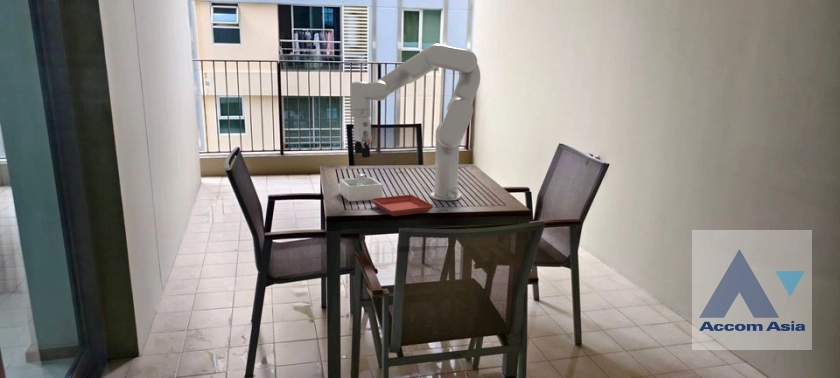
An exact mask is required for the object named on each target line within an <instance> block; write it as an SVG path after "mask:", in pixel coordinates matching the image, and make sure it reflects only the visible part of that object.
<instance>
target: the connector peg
mask: <svg viewBox="0 0 840 378" xmlns="http://www.w3.org/2000/svg"><path fill="white" fill-rule="evenodd" d="M355 176H356V177H355V178H356V186H360V185H365V178H366V174H365V173H356V175H355Z"/></svg>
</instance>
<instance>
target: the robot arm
mask: <svg viewBox="0 0 840 378" xmlns="http://www.w3.org/2000/svg"><path fill="white" fill-rule="evenodd" d="M436 68H439V69H440V68H441V69H444V70H450V71H455V72H458V80H457V83H456V86H455V89H454V91H453V93H452V95H451V97H450V99H449V101H448V104H447V108H446V111H447V112H446V114H445V117H444V119H443V121H442V122H440V123H439V124H438V125H437V127H436V130H435V161H434V162H435V163H434V189H433V190H434V191H433V192H431V193H430V195H429V196H430V198H432V199H433V200H437V201H446V202H448V201H457V200H460V199H461V198H462V195H461V193H459V192H458V184H459V183H458V182H459V159H460V156H459V155H460V143H461V142H462V140H463V138H464V135H466V131H467V129H468V128H469V125H470V123H471V121H472V117H473V114H474V107H473V102H474V100H475V97H476V94H477V92H478V90H479V87H480V83H481V71H480V67H479V64H478V57H477V55H476V53H474V52H473V51H471V50H468V49H465V48H464V49H463V48H458V47H454V46H448V45H445V44H439V43H433V44H430V45H429V46H428V47H426V48H424V49H423V50H421V51H420V52H418V53H417V54H415V55H413V56H412V57H410V58H409V59H407V60H405V61H404V62H402V63H401V64H399V66H397V67H396V68H394V69H393V70H392V71H390V72H388V73H387V74H385V75H384V76H382V77H381V78H379V79H377V80H375V81H373V82H368V81H353V82H352V83H351V84H350V99H351V101H350V102H351V103H350V104H351V117H352V118H353V138H354V153H355V155H357V154H361V158H363V159H364V158H370V157H371V149H370V148H371V146H370V145H371V144H370V143H371V142H372V140H373V138H372V137H373V136H372V126H371V115H372V114H371V113H372V112H371V110H372V109H371V101H378V102H379V101H384V100H386V99H387V98H388V96H390V95H391V94H393V93H395V92H396V91H397V90H399V89H401V88H402V87H404V86H406V85H409V84H412V83H415V82H416V81H418V80H419V79H421V78H422V77H424V76H426V75H427V74H429V73H431V72H432V71H434V70H435V69H436Z"/></svg>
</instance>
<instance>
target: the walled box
mask: <svg viewBox="0 0 840 378" xmlns="http://www.w3.org/2000/svg"><path fill="white" fill-rule="evenodd" d="M339 194H340V195H341V196H342V197H343V198H344V199H345V200H347V202H359V201H372V200H371V199H373V198H382V197H383V183H381V182H379V181H378V180H377V179H375V178H374V177H372V176H371V177H365V185H360V186H356V177H355V178H342V179H341V178H340V179H339Z"/></svg>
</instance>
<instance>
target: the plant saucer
mask: <svg viewBox="0 0 840 378" xmlns="http://www.w3.org/2000/svg"><path fill="white" fill-rule="evenodd" d="M370 201H372V203H373V204H374V205H375V206H376V207H377V208H378V209H380V210H381V211H384V212H385V213H386V214H388V215H390V216H392V217H398V216H407V215H414V214H422V213H428V212H429V211H430V210H431V209H432V208H433V207H434V204H431V203H429V202H428V201H425V200H424V199H421V198H419V197H417V196H415V195H413V194H404V195H395V196H382V198H373V199H371V200H370Z"/></svg>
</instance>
